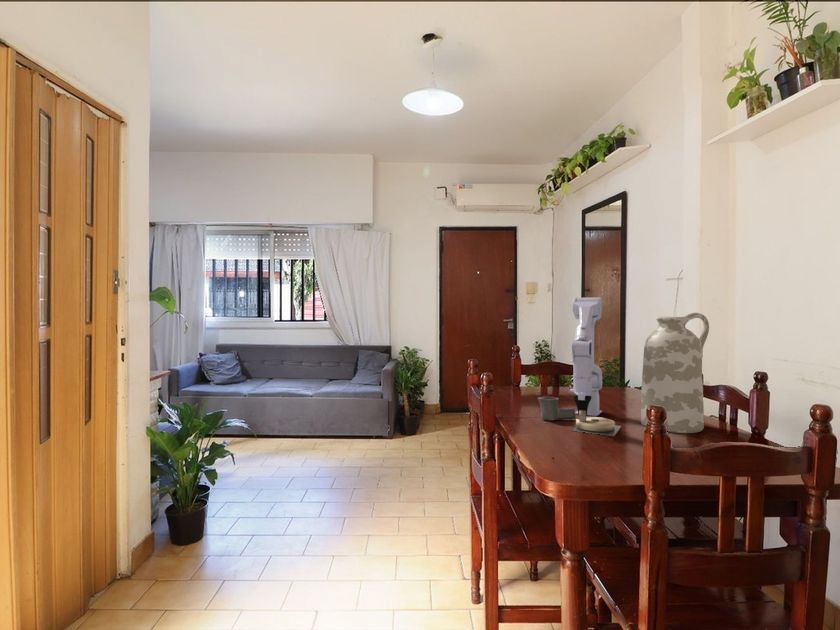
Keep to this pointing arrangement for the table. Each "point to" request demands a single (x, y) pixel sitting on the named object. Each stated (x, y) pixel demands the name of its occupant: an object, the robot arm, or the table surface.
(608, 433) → the base plate
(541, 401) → the pipe
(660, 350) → the vase
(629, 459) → the table surface
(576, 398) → the robot arm
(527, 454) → the table surface
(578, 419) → the beige low round piece
